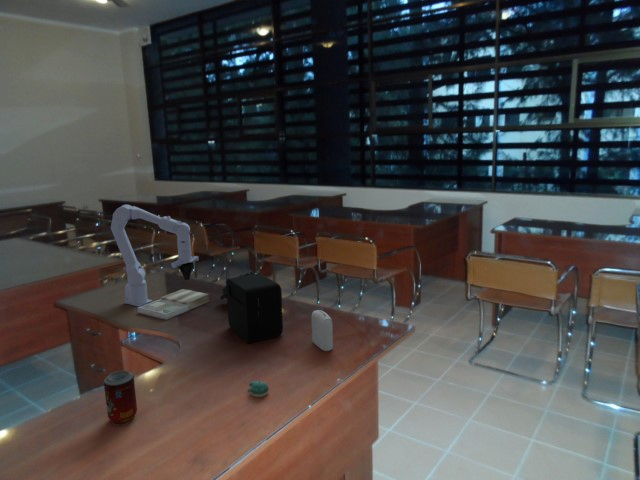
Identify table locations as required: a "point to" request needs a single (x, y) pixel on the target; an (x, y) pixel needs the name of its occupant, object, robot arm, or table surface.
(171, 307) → the tile sage
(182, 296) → the bench board
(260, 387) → the green domed piece
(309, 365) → the table surface
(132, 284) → the robot arm
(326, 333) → the photo printer
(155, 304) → the tile cream
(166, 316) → the box
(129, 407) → the soda can
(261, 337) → the air purifier
